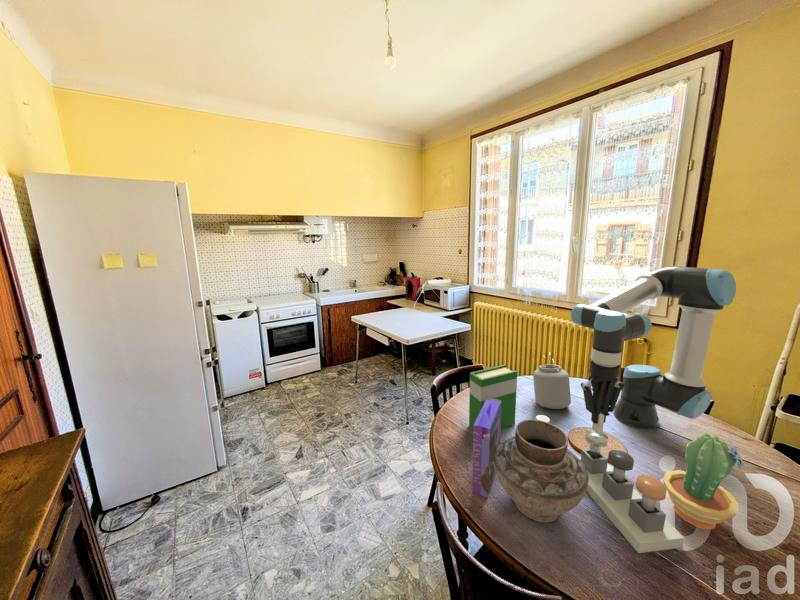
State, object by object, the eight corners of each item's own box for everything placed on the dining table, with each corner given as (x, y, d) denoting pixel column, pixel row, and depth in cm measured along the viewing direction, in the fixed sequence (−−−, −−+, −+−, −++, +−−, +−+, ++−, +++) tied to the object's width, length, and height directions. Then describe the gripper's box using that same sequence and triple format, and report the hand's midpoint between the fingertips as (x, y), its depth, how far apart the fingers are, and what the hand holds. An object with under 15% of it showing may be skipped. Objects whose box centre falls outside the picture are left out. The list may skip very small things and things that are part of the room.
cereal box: (487, 498, 96) (489, 428, 91) (472, 492, 98) (473, 424, 93) (499, 461, 111) (501, 400, 106) (485, 457, 113) (487, 397, 108)
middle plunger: (620, 469, 95) (622, 449, 93) (636, 484, 89) (639, 463, 88) (601, 471, 94) (603, 450, 93) (616, 486, 89) (619, 465, 87)
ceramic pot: (568, 477, 102) (574, 412, 97) (598, 552, 79) (608, 471, 74) (489, 468, 108) (491, 405, 103) (495, 535, 84) (498, 458, 79)
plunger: (596, 447, 105) (598, 428, 103) (610, 459, 99) (612, 440, 97) (579, 448, 104) (581, 430, 103) (592, 461, 98) (594, 442, 97)
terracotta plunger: (648, 496, 85) (652, 474, 84) (668, 515, 79) (673, 492, 78) (627, 498, 85) (631, 476, 83) (646, 518, 79) (650, 494, 77)
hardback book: (502, 415, 138) (504, 364, 133) (514, 424, 131) (517, 371, 126) (469, 425, 132) (469, 372, 127) (479, 435, 125) (481, 380, 120)
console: (598, 462, 108) (600, 442, 107) (682, 547, 79) (687, 521, 78) (565, 466, 108) (567, 445, 106) (638, 553, 78) (642, 526, 77)
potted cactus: (715, 551, 78) (734, 464, 73) (647, 503, 92) (659, 428, 87) (745, 526, 84) (765, 445, 79) (677, 485, 98) (690, 413, 93)
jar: (522, 396, 153) (525, 348, 148) (548, 391, 156) (552, 344, 151) (549, 417, 135) (553, 363, 130) (577, 411, 139) (583, 359, 133)
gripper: (615, 356, 99) (607, 422, 104) (576, 358, 98) (570, 426, 103) (635, 365, 91) (625, 437, 97) (593, 368, 90) (585, 440, 95)
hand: (597, 431), depth 100 cm, fingers closed
